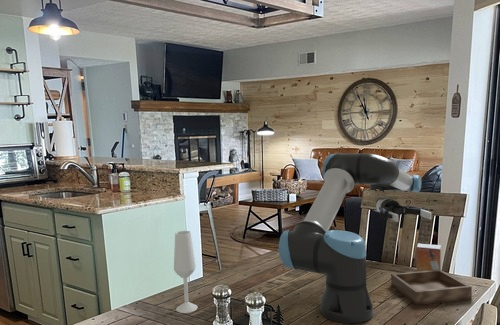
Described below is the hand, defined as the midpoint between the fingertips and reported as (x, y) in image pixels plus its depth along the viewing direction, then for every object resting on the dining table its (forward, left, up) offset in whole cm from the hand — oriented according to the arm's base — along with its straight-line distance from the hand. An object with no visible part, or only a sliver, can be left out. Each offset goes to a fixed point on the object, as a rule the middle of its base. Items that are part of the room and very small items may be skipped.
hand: (414, 217), depth 153 cm
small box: (0, -10, -19) cm, 22 cm away
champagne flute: (-87, -20, -19) cm, 91 cm away
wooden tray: (-9, -25, -19) cm, 33 cm away
